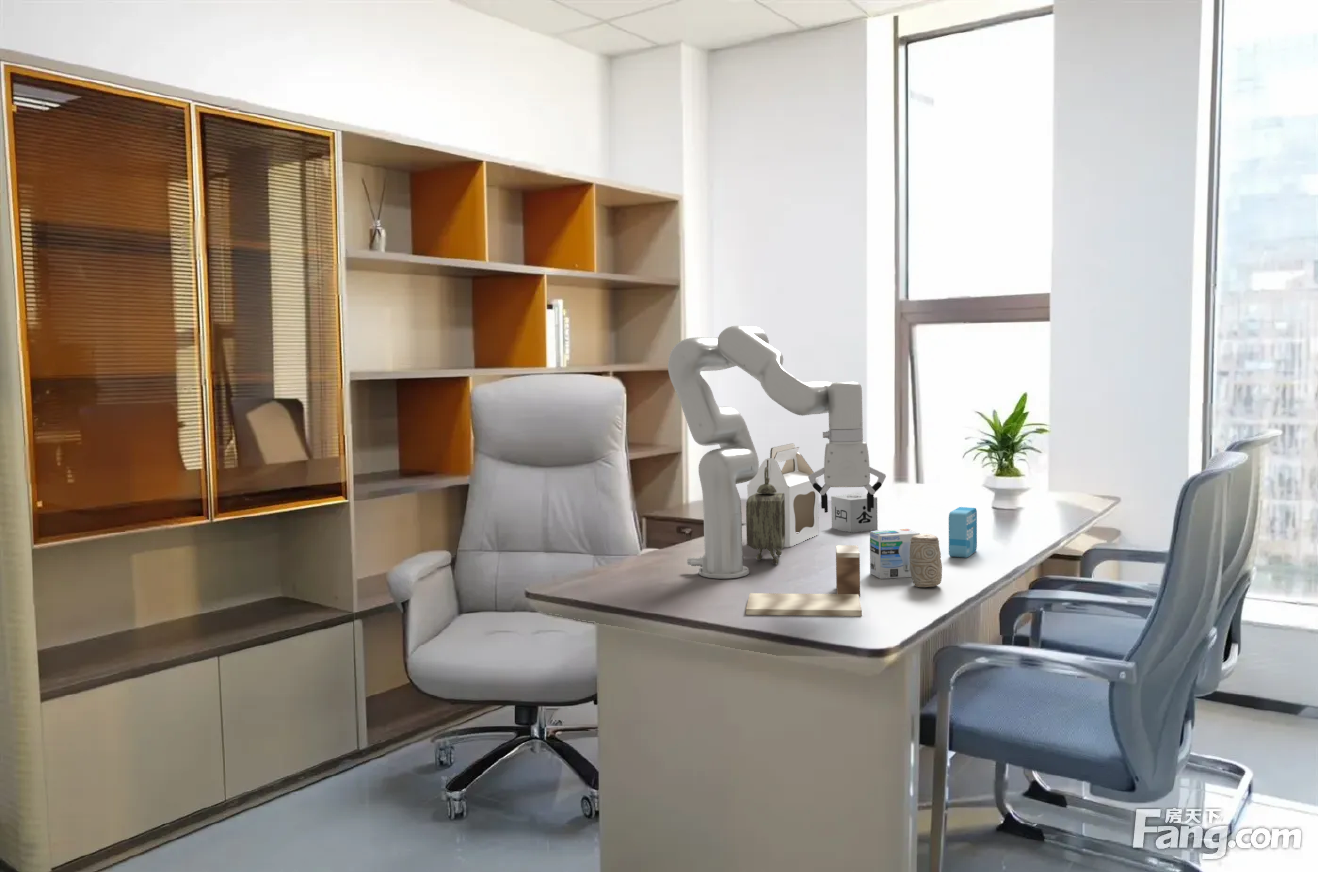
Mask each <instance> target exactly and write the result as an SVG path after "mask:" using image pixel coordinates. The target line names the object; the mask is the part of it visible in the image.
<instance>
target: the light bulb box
mask: <svg viewBox="0 0 1318 872" xmlns="http://www.w3.org/2000/svg"><path fill="white" fill-rule="evenodd" d="M918 534H921V533H920V532H918V531H916V530H912V529H911V528H902V529H887V530H883V529H882V530H870V531H869V561H870V562H869V574H871V575H873V576H874V577H877V578H878V579H880V580H883V579H898V578H899V579H900V578H912V576H911V572H910V561H909V560H910V559H909V557H910V546H911V545H910V543H911V541H910V540H911V539H912V538H911V537H912V536H914V535H918Z"/></svg>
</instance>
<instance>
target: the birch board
mask: <svg viewBox="0 0 1318 872" xmlns="http://www.w3.org/2000/svg"><path fill="white" fill-rule="evenodd" d="M748 595H749V596H748V600H747V604H746V608H745V615H747V616H748V615H749V616H750V615H753V616H821V617H822V616H831V617H833V616H834V617H835V616H836V617H837V616H838V617H862V616H863V615H862V614H863V613H862V612H863V609H862V605H861V600H860V597H859V595H858V594H837V593H779V592H778V593H774V592H773V593H772V592H771V593H770V592H769V593H766V592H765V593H761V592H760V593H758V592H757V593H756V592H755V593H754V592H750V593H749V594H748Z"/></svg>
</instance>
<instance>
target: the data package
mask: <svg viewBox="0 0 1318 872" xmlns="http://www.w3.org/2000/svg"><path fill="white" fill-rule="evenodd" d="M977 517H978V510H977V507H966V506H959V507H957V508H955V509H953V510H952V511H950V512H949V513H948V555H949V557H952V558H962V559H967V558H969V557H970V556H971V555H973V554H974V553H976V552H977V549H978V524H977V523H978V518H977Z"/></svg>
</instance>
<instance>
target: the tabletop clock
mask: <svg viewBox="0 0 1318 872" xmlns="http://www.w3.org/2000/svg"><path fill="white" fill-rule="evenodd" d="M766 473H767V477H766ZM764 478H765V484H763V485H760V486H759V488H758V490H757V492H758V493H756V494H754V495H752V496H750V497H749V498H748V497H747V499H746V503H745V504H746V505H745V509H746V510H745V515H746V516H745V517H746V519H745V521H746V523H745V526H746V529H745V530H746V545H747V546H748V547H750V548H752V549H753V550H759V551H758V553H757V555H756V556H755V558H756V560H757V561H761V560H762V559H763V555H762V552H763V550H767V551H768V552H769V553H770V555H771V557H772V560H771V562H772V564H773V565H777V564H778V563H779V559H778V558H777V557H779V556H781V555H782V551H781V550H783V549H784V548H785V547H784V544H785V496H784V493H775V492H777V491H776V489H775V487H774V486H773V485H771V484H769V479H768V467H765V471H764ZM774 550H775V553H774ZM775 555H776V556H777V557H776V556H775Z"/></svg>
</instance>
